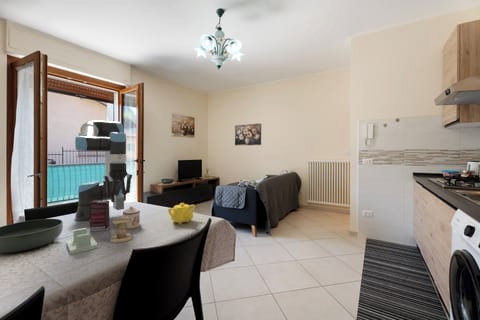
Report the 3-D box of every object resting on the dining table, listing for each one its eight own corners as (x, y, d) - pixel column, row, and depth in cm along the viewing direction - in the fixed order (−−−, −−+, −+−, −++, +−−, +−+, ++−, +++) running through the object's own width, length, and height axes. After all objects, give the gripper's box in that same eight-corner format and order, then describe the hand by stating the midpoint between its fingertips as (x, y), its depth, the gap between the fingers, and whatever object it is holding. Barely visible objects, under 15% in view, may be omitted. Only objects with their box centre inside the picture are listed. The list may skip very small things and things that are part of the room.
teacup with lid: (134, 229, 126) (134, 208, 126) (119, 228, 127) (119, 208, 126) (145, 222, 138) (145, 203, 138) (131, 222, 139) (131, 203, 138)
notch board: (66, 244, 105) (66, 230, 104) (91, 238, 112) (91, 225, 111) (70, 254, 94) (70, 239, 94) (97, 247, 101) (97, 233, 101)
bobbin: (107, 238, 112) (107, 218, 112) (129, 233, 119) (129, 215, 118) (113, 244, 105) (113, 223, 104) (135, 239, 112) (135, 219, 111)
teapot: (166, 225, 133) (166, 206, 132) (174, 218, 147) (174, 200, 147) (190, 226, 132) (189, 206, 132) (195, 219, 146) (195, 201, 146)
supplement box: (110, 227, 128) (109, 200, 128) (106, 230, 123) (105, 202, 123) (93, 228, 127) (93, 200, 126) (89, 231, 122) (88, 202, 122)
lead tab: (114, 208, 117) (113, 196, 117) (120, 207, 119) (120, 196, 119) (117, 210, 113) (117, 198, 113) (124, 209, 115) (123, 197, 115)
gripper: (102, 163, 107) (102, 211, 108) (136, 162, 119) (137, 206, 119) (98, 162, 113) (99, 208, 113) (131, 162, 124) (132, 204, 125)
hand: (118, 207), depth 116 cm, fingers closed on lead tab, 3 cm apart
